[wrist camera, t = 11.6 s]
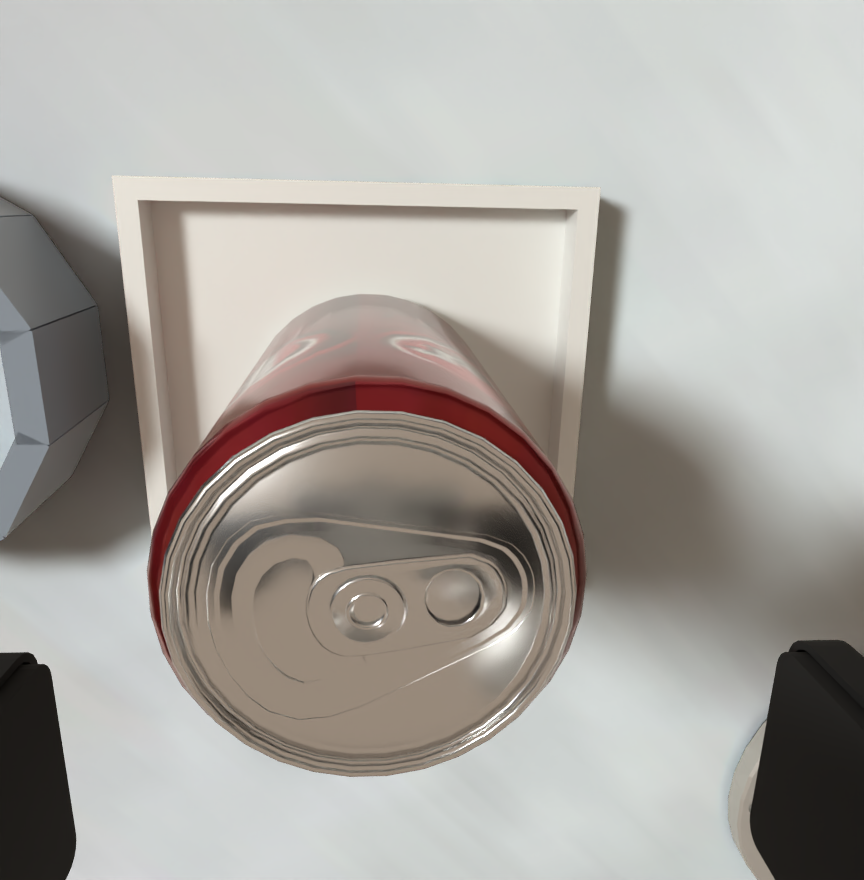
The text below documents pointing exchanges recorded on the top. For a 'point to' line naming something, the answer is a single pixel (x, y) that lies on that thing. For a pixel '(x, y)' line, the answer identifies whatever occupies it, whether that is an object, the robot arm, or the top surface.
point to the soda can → (367, 549)
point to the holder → (44, 365)
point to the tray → (348, 289)
